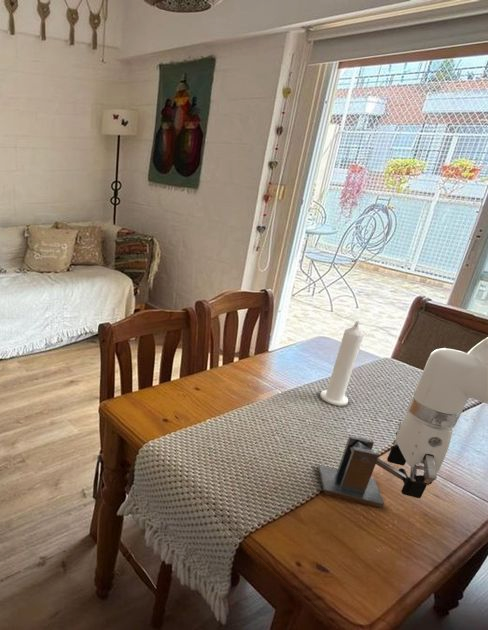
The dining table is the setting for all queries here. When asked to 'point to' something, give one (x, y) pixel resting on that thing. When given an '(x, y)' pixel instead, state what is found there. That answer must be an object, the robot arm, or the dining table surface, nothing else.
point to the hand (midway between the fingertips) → (402, 478)
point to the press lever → (385, 464)
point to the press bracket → (353, 475)
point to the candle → (343, 366)
